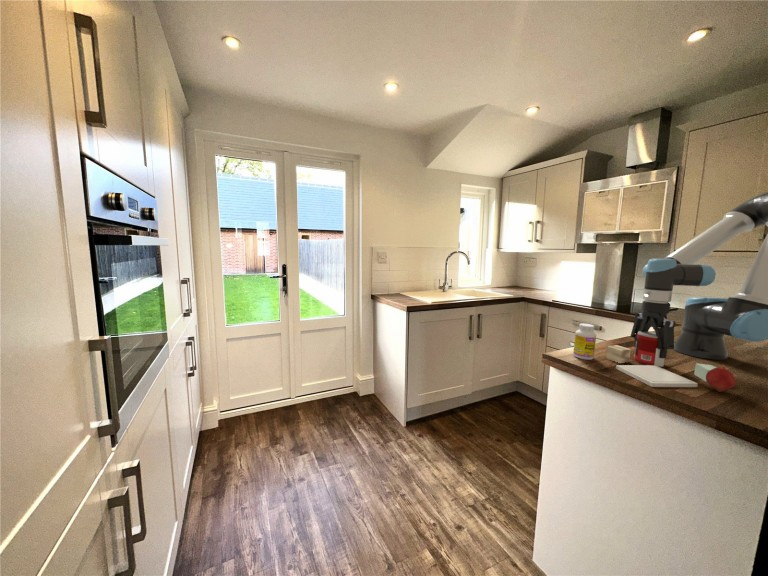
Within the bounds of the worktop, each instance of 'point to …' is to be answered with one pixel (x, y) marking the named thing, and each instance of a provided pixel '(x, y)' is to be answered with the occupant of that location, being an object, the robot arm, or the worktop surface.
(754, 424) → the worktop surface
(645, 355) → the canned food
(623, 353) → the beech block
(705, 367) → the sage block
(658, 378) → the tray
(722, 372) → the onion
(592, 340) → the supplement bottle
